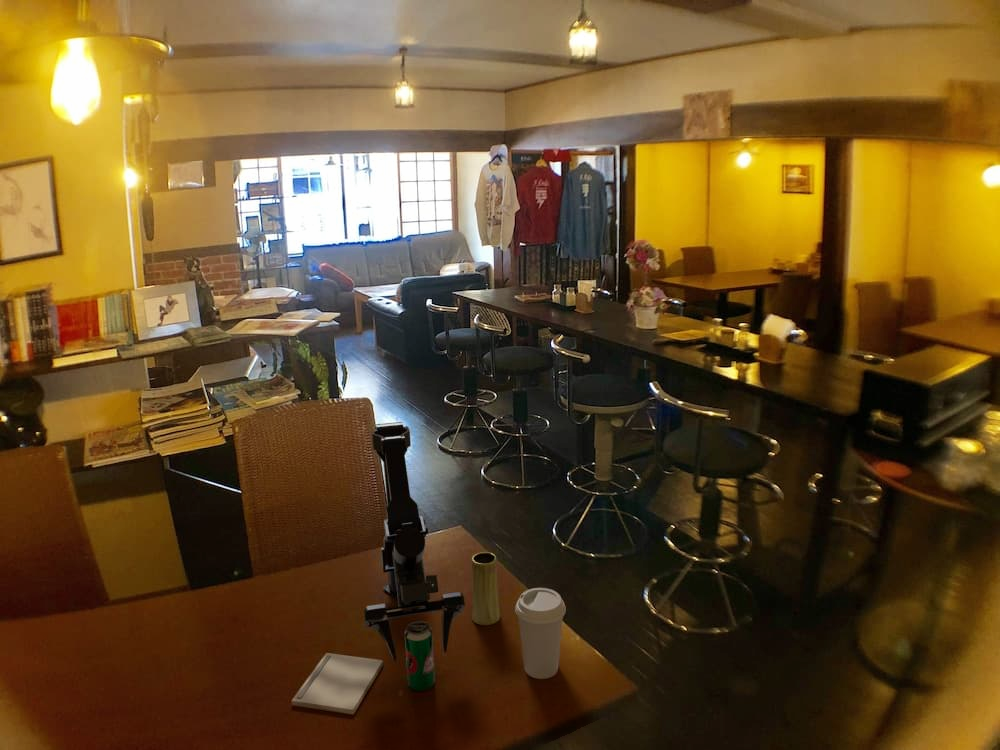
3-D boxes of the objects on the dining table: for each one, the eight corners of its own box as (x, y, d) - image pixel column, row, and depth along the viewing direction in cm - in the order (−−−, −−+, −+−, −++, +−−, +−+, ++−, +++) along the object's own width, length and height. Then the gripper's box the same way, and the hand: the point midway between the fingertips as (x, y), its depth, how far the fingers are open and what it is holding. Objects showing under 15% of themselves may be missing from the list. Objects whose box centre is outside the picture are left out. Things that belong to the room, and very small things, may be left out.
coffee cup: (536, 646, 148) (535, 580, 144) (575, 664, 142) (575, 596, 138) (506, 671, 141) (504, 602, 137) (546, 691, 135) (546, 619, 131)
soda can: (430, 694, 135) (427, 637, 132) (404, 691, 136) (400, 634, 133) (438, 676, 140) (435, 621, 137) (412, 673, 141) (409, 618, 138)
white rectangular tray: (326, 657, 147) (326, 652, 146) (383, 664, 144) (382, 659, 144) (292, 705, 133) (291, 699, 133) (353, 714, 131) (352, 709, 130)
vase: (501, 609, 161) (499, 551, 157) (498, 626, 155) (496, 565, 151) (473, 608, 162) (471, 550, 158) (470, 625, 156) (467, 565, 152)
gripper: (360, 568, 134) (369, 657, 126) (461, 553, 138) (475, 639, 130) (361, 584, 143) (369, 668, 136) (455, 570, 147) (468, 651, 140)
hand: (420, 656), depth 135 cm, fingers open, 9 cm apart
